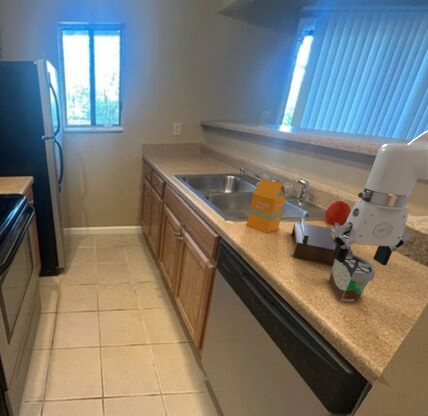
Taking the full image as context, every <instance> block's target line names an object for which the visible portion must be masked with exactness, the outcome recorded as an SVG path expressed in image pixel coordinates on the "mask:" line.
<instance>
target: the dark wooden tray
mask: <svg viewBox="0 0 428 416" xmlns="http://www.w3.org/2000/svg"><path fill="white" fill-rule="evenodd" d="M339 226H340V225H339V223H335V224H334V225H333V227H327V226H321V225H315V224H309V223H307V220H306V218H305V217H300V221H299V222H298V221H294V222H293V227H292V231H291V237H294V239H295V247H294V249H293V254H292V257H293V258H296V259H300V260H305V261H310V262H314V263H318V264H324V265H328V266H332V267H333V264H334V260H335V258H334V257H333V254H334V251H335V248H336V245H337V244H336V243H335V242H334V240H333V239H332V236H331V232H330V230H331V229H333V228H336V227H339ZM341 236H343V235H342V233H341V234H340V237H341ZM347 240H348V239H347ZM347 240H345V241H344V242H346V241H347ZM347 249H348V250H349V251H348V253H350V254H353V255H354V253H353V250H352V248H351V245H350V246H349V247H347Z"/></svg>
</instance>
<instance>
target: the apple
mask: <svg viewBox="0 0 428 416" xmlns="http://www.w3.org/2000/svg"><path fill="white" fill-rule="evenodd" d="M351 211H352V209H351V207H350V205H349V204H348V203H347V202H346V201H343V200H337V201H334V202H332V203H331V204H330V205H329V206H328V207H327V209H326V210H325V213H324V218H325V222H326V223H327V224H329V225H331V226H334V224H335V223H339V225H340V226H342V225H345V223H346V221H347V218H348V216H349V214H350V212H351Z"/></svg>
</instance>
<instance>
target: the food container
mask: <svg viewBox="0 0 428 416" xmlns="http://www.w3.org/2000/svg"><path fill="white" fill-rule="evenodd" d="M375 275H376V270H375V267H374V265H373V263H371V262H370V261H368V260H366V259H365V258H362V257H360V256H358V255H355V254H354V253H353V254H350V253H348V254H347V256H346V259H345V262H344V263H340V262H339V261H338V260H336V259H335V260H334V264H333V266H332V267H331V271H330V274H329V278H328V282H329V283H330V286H331V287H332V289H333V290H334V292H335V294H336V296H337V297H338V299H339V300H340V302H341V303H355V302H358V301H359V299H360V297H361V296H362V294H363V292H364V290H365V288H366V287H367V285H368V284H369V282H371V281H374V279H375V278H376V277H375Z"/></svg>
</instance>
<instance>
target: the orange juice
mask: <svg viewBox="0 0 428 416" xmlns="http://www.w3.org/2000/svg"><path fill="white" fill-rule="evenodd" d="M286 198H287V196H286V191H285V186H284V183H281V182H276V181H272V180H269V179H263V178H260V180H259V182H258V184H257V186H256V187H255V189H254V191H253V192H252V197H251V202H250V207H249V212H248V217H247V222H246V225H247V226H248V227H250V228H254V229H256V230H258V231H261V232H263V233H266V234H268V233H271V232H273V231H276V230H279V227H280V222H281V218H282V215H283V210H284V206H285V202H286Z"/></svg>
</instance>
